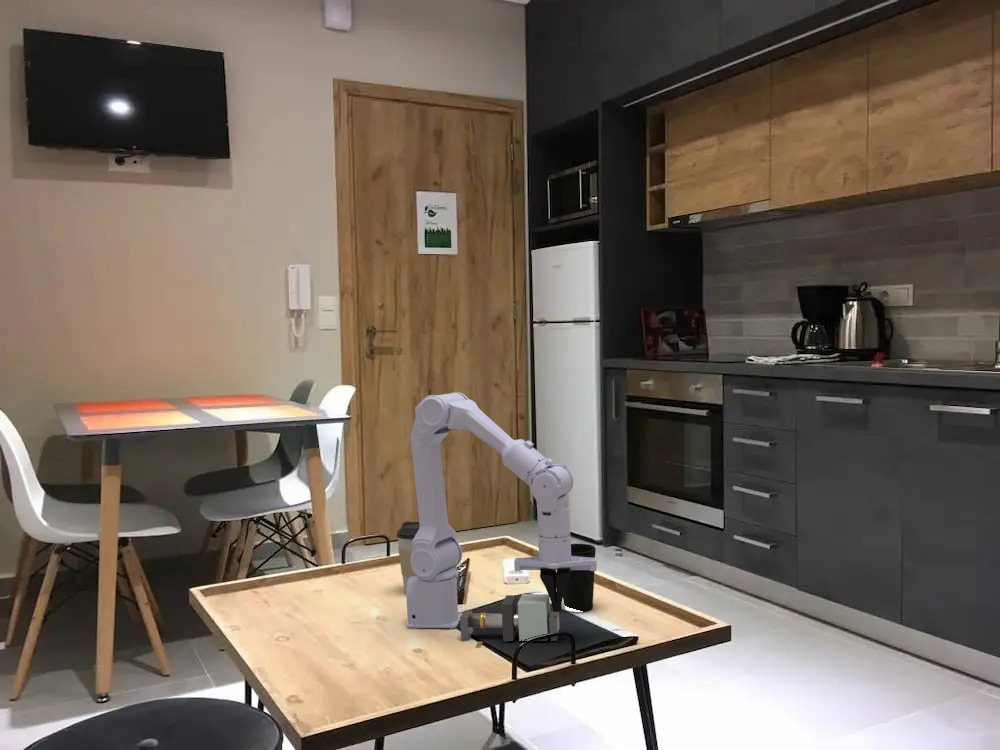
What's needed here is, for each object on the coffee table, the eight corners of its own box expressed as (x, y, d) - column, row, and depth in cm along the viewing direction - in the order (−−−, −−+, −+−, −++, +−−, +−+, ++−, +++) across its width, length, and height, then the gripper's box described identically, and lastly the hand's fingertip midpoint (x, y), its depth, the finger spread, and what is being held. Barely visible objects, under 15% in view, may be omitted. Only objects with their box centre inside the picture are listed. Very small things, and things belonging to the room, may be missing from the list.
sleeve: (519, 641, 152) (517, 603, 152) (523, 631, 158) (522, 594, 158) (547, 641, 152) (545, 603, 151) (550, 631, 157) (549, 594, 157)
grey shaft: (457, 647, 152) (455, 622, 152) (465, 632, 159) (464, 609, 159) (555, 648, 149) (554, 623, 149) (559, 633, 156) (558, 610, 156)
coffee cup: (449, 588, 188) (446, 520, 188) (424, 600, 181) (420, 528, 180) (416, 584, 193) (413, 517, 193) (390, 594, 186) (387, 525, 185)
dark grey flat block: (503, 641, 153) (501, 604, 153) (508, 630, 158) (506, 595, 158) (513, 641, 153) (511, 604, 152) (517, 630, 158) (516, 595, 158)
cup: (596, 614, 166) (593, 553, 166) (556, 614, 168) (554, 552, 167) (599, 602, 174) (597, 543, 173) (561, 602, 175) (559, 543, 175)
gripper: (510, 540, 151) (513, 616, 151) (594, 539, 148) (597, 617, 149) (516, 531, 158) (519, 604, 158) (596, 530, 155) (599, 605, 156)
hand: (557, 610), depth 154 cm, fingers closed
